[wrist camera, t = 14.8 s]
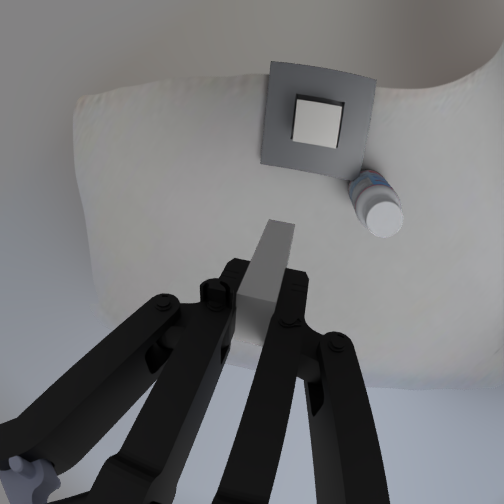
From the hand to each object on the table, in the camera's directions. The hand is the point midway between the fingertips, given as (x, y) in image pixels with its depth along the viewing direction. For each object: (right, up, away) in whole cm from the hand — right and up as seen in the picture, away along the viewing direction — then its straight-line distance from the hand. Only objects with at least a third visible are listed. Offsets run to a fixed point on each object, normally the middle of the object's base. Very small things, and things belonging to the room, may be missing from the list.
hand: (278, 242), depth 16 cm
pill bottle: (+16, +9, +22) cm, 28 cm away
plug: (+8, +18, +18) cm, 27 cm away
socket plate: (+8, +18, +19) cm, 27 cm away
